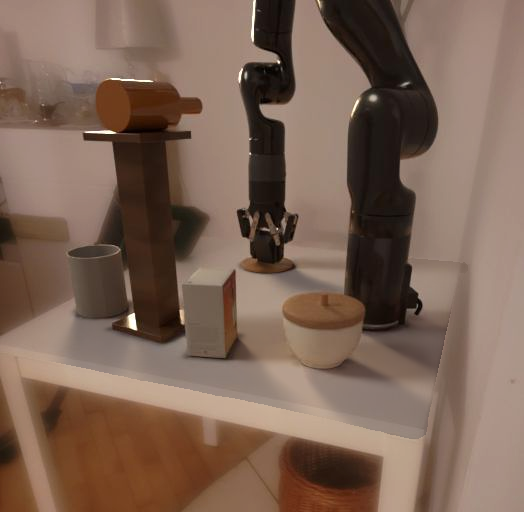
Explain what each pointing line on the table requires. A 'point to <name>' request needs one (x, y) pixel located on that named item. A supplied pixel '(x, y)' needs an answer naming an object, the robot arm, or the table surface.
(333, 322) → the trinket box
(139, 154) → the stand
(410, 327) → the table surface
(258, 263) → the mat
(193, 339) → the small box
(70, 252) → the cup
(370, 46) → the robot arm
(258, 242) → the dark grey block
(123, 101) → the bottle
